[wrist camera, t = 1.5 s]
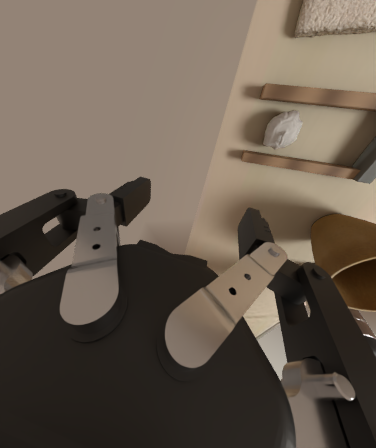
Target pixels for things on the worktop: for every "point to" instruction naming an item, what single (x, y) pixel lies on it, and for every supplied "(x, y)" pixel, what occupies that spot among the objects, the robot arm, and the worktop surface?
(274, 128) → the garlic
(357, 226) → the plant pot
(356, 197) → the worktop surface
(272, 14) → the worktop surface
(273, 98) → the guide track
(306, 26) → the washcloth
